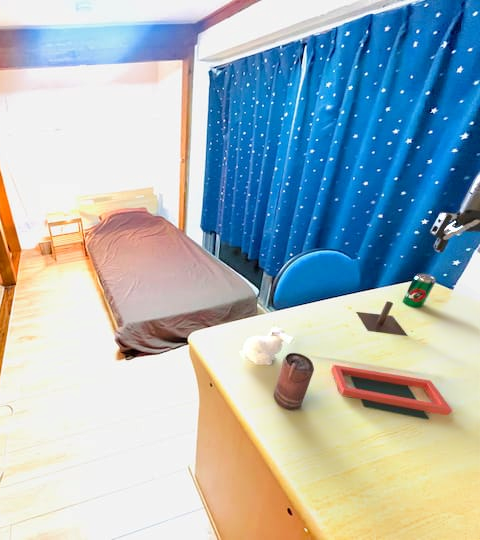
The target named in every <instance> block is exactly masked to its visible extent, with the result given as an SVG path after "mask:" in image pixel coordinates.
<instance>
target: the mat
mask: <svg viewBox="0 0 480 540" xmlns="http://www.w3.org/2000/svg"><path fill="white" fill-rule="evenodd" d="M349 377H350V379H351V381H352V383H353V385H354V387H355V388H354V389H360V390H365V391H371V392H376V393H382V394H387V395H393V396H398V397H404V398H409V399H415V400H418V399H417V398H416V395H414V393H413V391H412V390H411V388H410V386H406V385H400V384H394V383H389V382H383V381H377V380H371V379H365V378H360V377H354V376H349ZM360 400H361V403H362V406H363V407H364V408H368V409H372V410H373V409H374V410H378V411H382V412H383V411H384V412H387V413H394V414H399V415H403V416H407V417H413V418H419V419H423V420H429V419H430V418H429V416H428V414H427V413H426V411H421V410H416V409H411V408H406V407H401V406H395V405H390V404H385V403H380V402H375V401H369V400H364V399H360Z"/></svg>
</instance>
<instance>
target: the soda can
mask: <svg viewBox="0 0 480 540" xmlns="http://www.w3.org/2000/svg"><path fill="white" fill-rule="evenodd" d="M436 282H437V281H436V277H435V276H433V275H431V274H427V273H416V275H415V276H413V278H412V280H411V282H410V284H409V287H408V289H407V291H406V293H405V295H404V297H403V299H402V303H403V304H404V305H405V306H408V307H410V308H414V309H415V308H416V309H421V308H423V306H424V305H425V302H426V301H427V300H428V297H429V295H430V293H431V291H432V290H433V289H434V286H435V284H436Z"/></svg>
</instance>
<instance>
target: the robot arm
mask: <svg viewBox="0 0 480 540" xmlns="http://www.w3.org/2000/svg"><path fill="white" fill-rule="evenodd" d="M453 220H454V221H453ZM449 223H450V224H449ZM463 232H465V233H466V232H469V233H470V232H476V233H477V232H478V233H480V171H478V173H476V176H475V177H474V178H473V181H472V182H471V185H470V186H469V188H468V191H467V193H466V194H465V196H464V198H463V200H462V202H461V204H460V208H459V210H458V211H457V212H455V213H449V212H445V211H441V212H439V214H438V217H437V218H436V220H435V222H434V223H433V225H432V227H431V228H430V231H429V234H430V235H432V236H434V237H436V240H435V242H434V244H433V247H432V248H433V249H434V251H435V252H437V253H441V254H442V253H444V251H445V249H446V247H447V245H448V243H449V242H450V239H451V238H452V237H454V236H456V235H460V234H462V233H463ZM477 253H479V254H480V246H479V247H478V248H477Z"/></svg>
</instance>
